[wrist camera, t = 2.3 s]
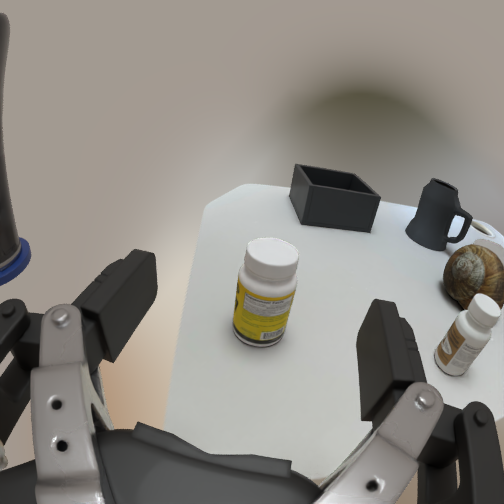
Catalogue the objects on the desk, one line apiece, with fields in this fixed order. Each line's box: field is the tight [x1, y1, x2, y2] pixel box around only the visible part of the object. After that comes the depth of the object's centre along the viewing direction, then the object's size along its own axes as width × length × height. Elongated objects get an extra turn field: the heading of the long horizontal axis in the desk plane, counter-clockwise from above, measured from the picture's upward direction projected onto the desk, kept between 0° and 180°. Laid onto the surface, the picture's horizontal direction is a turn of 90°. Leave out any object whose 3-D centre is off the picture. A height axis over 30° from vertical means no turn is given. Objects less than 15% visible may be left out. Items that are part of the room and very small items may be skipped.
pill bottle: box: [435, 294, 501, 376], centre depth 22 cm, size 4×4×8 cm
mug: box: [405, 178, 473, 251], centre depth 46 cm, size 12×9×11 cm
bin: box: [289, 164, 381, 232], centre depth 51 cm, size 12×12×7 cm
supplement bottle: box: [233, 237, 299, 347], centre depth 25 cm, size 5×5×8 cm
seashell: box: [443, 244, 504, 310], centre depth 32 cm, size 11×9×8 cm
